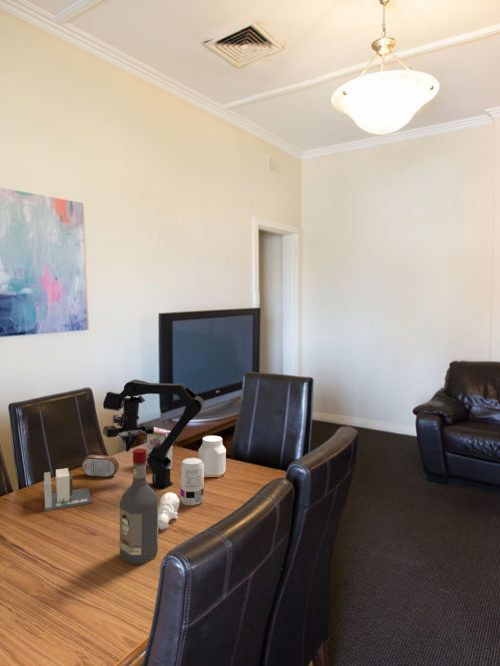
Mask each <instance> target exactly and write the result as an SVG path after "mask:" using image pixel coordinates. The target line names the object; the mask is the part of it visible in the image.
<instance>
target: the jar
mask: <svg viewBox="0 0 500 666" xmlns="http://www.w3.org/2000/svg"><path fill="white" fill-rule="evenodd" d="M197 451H198V458H199V459H201V460H202V462H203V464H204V475H220V474H223V473H224V472H225V471H226V465H227V464H226V462H227V460H226V459H227V458H226V454H227V449H226V447H225V446H224V445H223V438H222V437H221V436H219V435H218V436H217V435H206V436H204V437H202V444H201V446H200V447H199V448H198V450H197Z"/></svg>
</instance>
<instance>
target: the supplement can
mask: <svg viewBox="0 0 500 666" xmlns="http://www.w3.org/2000/svg"><path fill="white" fill-rule="evenodd" d="M204 481H205V478H204V464H203V462H202V460H201V459H199V457H188V458H184V459H183V460H182V462H181V464H180V489H179V490H180V492H179V493H180V496H179V497H180V499H179V500H180V503H183V504H186V505H195V504H199V503H203V502H202V501H204V494H205V493H204V490H205V489H204V485H205V484H204V483H205V482H204ZM183 504H182V505H183ZM186 505H185V506H186ZM199 505H200V504H199Z"/></svg>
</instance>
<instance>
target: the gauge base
mask: <svg viewBox="0 0 500 666" xmlns="http://www.w3.org/2000/svg"><path fill="white" fill-rule="evenodd" d="M51 475H52V474H51V471H47V472H44V473H43V484H44V486H43V487H44V489H43V490H44V491H43V492H44V494H43V496H44V499H43V500H44V511H45V512H47V511H54V510H60V509H65V508H71V507H77V506H84V505H88V504H93V499H92V497H91V494H90V489H89V487H84V488H76V489H72V495H70V496H69V501H66V502H64V503H63V502H60V503H57V498H56V492H53V491H52V476H51Z"/></svg>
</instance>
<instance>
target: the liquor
mask: <svg viewBox="0 0 500 666" xmlns="http://www.w3.org/2000/svg"><path fill="white" fill-rule="evenodd" d="M132 462H133V467H132V468H133V471H132V473H133V474H132V475H133V476H132V482H131V484H130V486H129V487H128V488H127V489H126V490H125V491H124V493H123V494H122V496H121V498H120V500H119V557H120V558H121V559H122V558H123V559H122V560H124V561H125V560H126V561H125V562H126V563H128V562H129V565H132V564H138V565H143V564H144V562H145V561H147V560H149V559H150V560H152V559H154V558H156V556H157V555H158V550H159V528H158V509H159V495H158V494H157V492H156V491H155V489H153V488H152V486H150V485H149V484H148V483H147V482H148V481H147V472H146V471H147V448H136V449H135V448H134V449H133V450H132ZM153 557H154V558H153ZM151 558H152V559H151ZM150 560H149V561H150ZM147 562H148V561H147ZM142 563H143V564H142ZM145 563H146V562H145Z"/></svg>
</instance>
